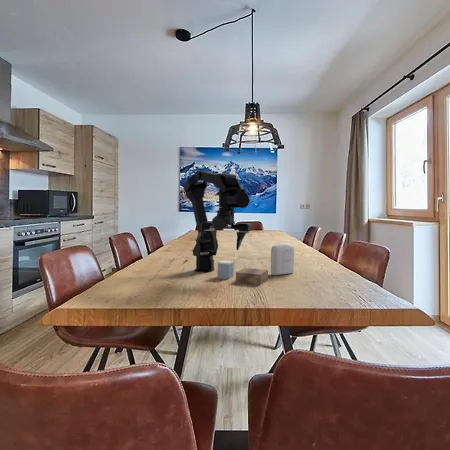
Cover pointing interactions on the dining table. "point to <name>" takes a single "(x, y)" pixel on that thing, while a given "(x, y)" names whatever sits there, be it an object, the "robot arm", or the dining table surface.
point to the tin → (225, 269)
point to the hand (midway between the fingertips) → (225, 249)
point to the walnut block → (252, 276)
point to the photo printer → (282, 259)
